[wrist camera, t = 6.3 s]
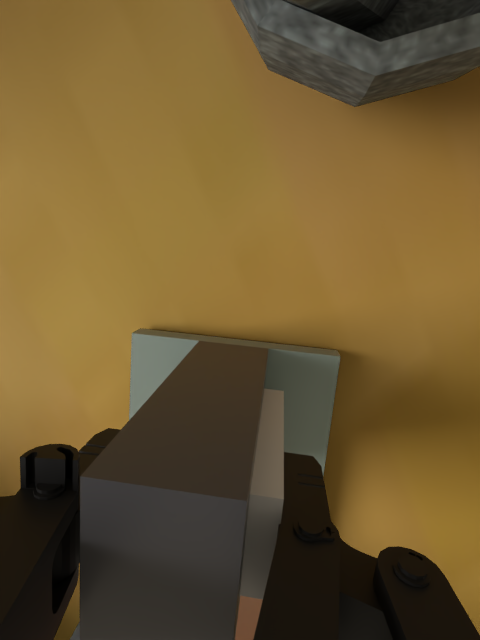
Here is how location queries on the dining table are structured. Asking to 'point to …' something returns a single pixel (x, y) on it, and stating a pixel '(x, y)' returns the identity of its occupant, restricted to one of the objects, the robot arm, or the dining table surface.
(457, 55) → the mortar and pestle
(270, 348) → the grey piece
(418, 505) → the dining table surface
